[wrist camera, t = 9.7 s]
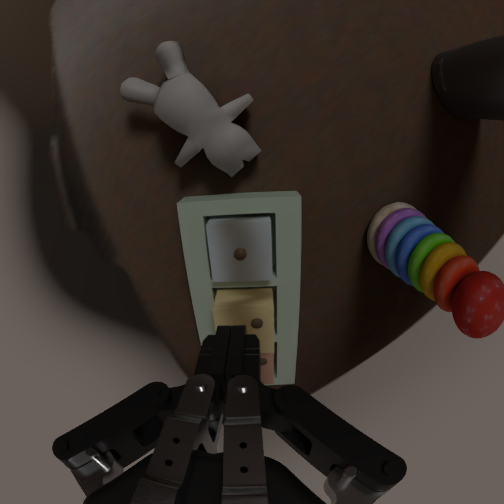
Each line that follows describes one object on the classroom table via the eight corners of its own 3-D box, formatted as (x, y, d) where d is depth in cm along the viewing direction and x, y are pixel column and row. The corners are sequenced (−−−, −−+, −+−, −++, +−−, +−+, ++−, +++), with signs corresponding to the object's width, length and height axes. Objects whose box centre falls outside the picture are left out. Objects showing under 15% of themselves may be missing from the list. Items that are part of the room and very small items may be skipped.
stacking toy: (384, 274, 32) (461, 382, 14) (352, 229, 30) (441, 333, 12) (428, 236, 30) (527, 317, 12) (401, 187, 27) (523, 248, 10)
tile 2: (272, 287, 30) (273, 309, 26) (272, 330, 32) (274, 353, 28) (217, 289, 30) (212, 311, 26) (223, 331, 32) (219, 354, 28)
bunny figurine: (209, 201, 25) (100, 98, 19) (213, 187, 29) (120, 99, 24) (286, 132, 22) (172, 23, 17) (278, 130, 27) (182, 37, 21)
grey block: (269, 211, 29) (271, 222, 25) (270, 263, 31) (272, 280, 27) (212, 213, 29) (205, 225, 25) (218, 265, 31) (212, 282, 27)
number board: (297, 190, 28) (301, 196, 25) (292, 369, 38) (294, 383, 35) (184, 197, 29) (176, 203, 26) (213, 370, 39) (210, 385, 36)
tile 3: (272, 332, 35) (273, 353, 31) (272, 363, 37) (273, 384, 33) (226, 333, 35) (223, 354, 31) (231, 364, 37) (228, 385, 34)
